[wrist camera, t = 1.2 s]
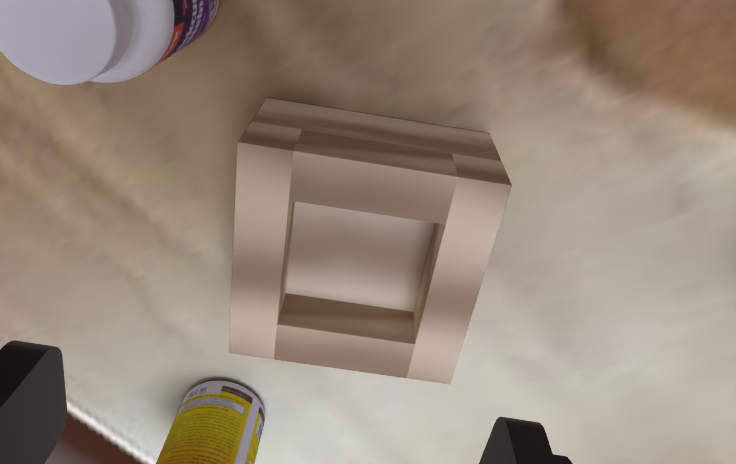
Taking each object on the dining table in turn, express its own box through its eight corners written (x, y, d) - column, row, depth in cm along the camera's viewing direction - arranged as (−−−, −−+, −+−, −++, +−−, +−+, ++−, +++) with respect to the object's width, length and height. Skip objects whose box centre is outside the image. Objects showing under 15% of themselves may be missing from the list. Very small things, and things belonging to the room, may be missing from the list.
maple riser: (266, 97, 27) (237, 142, 22) (489, 133, 28) (511, 185, 23) (254, 282, 33) (228, 352, 28) (441, 309, 33) (450, 384, 28)
